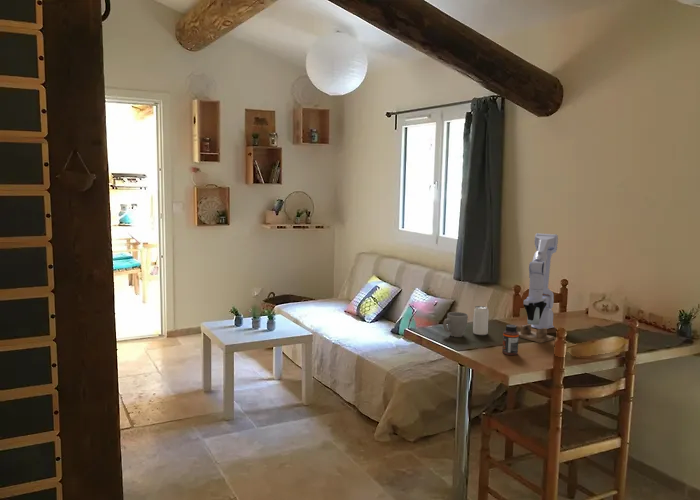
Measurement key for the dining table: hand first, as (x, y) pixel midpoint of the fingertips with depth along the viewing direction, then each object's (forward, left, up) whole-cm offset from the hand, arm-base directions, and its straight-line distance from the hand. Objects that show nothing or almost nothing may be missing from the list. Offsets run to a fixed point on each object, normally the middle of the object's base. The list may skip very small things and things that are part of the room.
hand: (534, 319), depth 264 cm
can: (+14, -18, -8) cm, 24 cm away
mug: (+27, -22, -8) cm, 36 cm away
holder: (0, 0, -8) cm, 8 cm away
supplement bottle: (+29, +9, -8) cm, 32 cm away
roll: (0, 0, -2) cm, 2 cm away
